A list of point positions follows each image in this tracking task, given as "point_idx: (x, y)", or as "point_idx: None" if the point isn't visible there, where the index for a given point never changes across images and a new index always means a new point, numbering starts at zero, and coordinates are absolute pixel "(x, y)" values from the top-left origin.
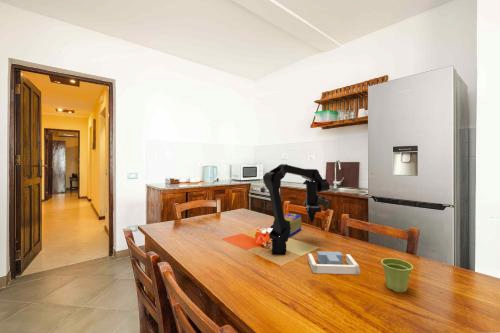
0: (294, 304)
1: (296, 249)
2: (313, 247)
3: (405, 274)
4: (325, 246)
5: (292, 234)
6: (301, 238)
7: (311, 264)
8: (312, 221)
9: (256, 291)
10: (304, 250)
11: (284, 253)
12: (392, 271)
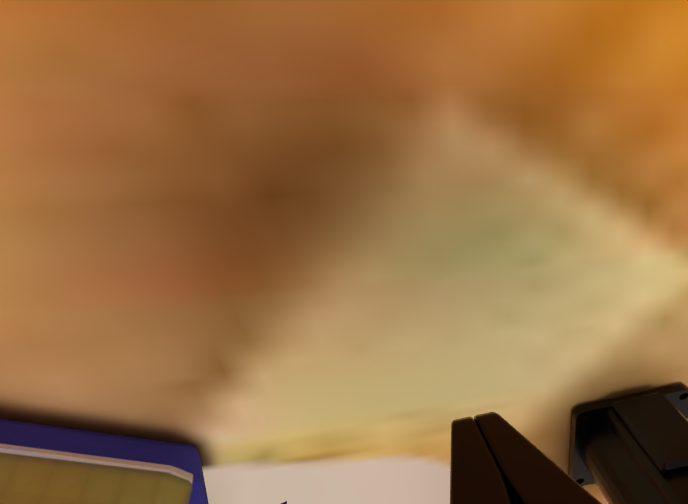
0: None
1: (545, 326)
2: (467, 171)
3: None
4: (403, 5)
5: (86, 432)
6: (168, 328)
7: None
8: (514, 440)
9: None
10: (570, 256)
11: (678, 397)
12: None
